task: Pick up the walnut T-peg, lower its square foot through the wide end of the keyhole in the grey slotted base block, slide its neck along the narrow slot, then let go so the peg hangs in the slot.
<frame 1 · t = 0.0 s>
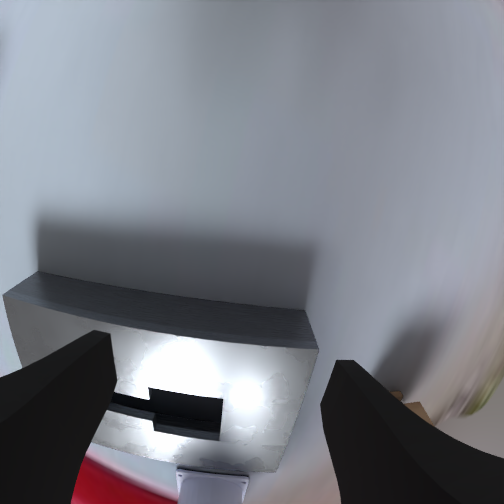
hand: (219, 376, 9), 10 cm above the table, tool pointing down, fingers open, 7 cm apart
peg: (376, 406, 23), on the table
grey slotted base block: (156, 368, 21), on the table
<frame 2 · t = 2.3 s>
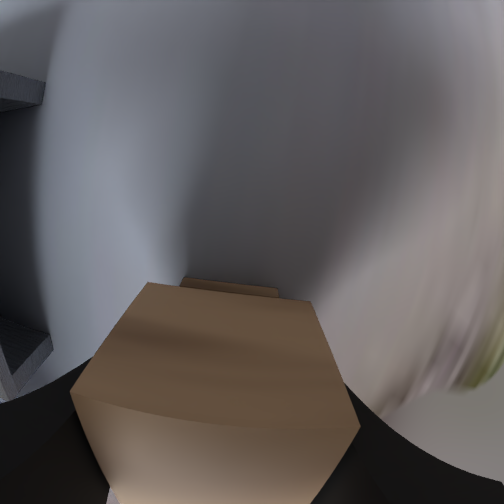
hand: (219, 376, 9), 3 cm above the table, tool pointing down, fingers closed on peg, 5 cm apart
peg: (226, 323, 12), on the table, touching gripper
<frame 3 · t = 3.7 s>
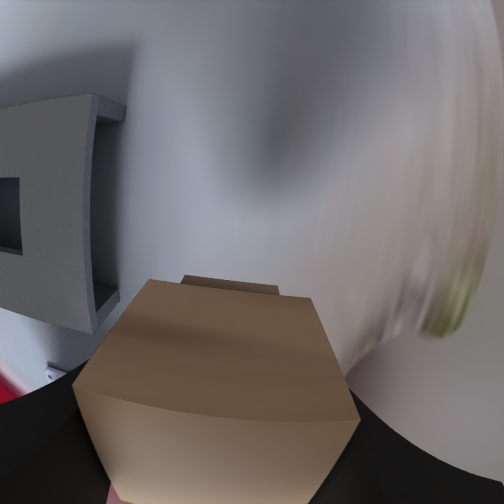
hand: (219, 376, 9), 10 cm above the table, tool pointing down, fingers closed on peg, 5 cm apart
peg: (226, 320, 12), point 7 cm above the table, touching gripper
grey slotted base block: (12, 201, 17), on the table
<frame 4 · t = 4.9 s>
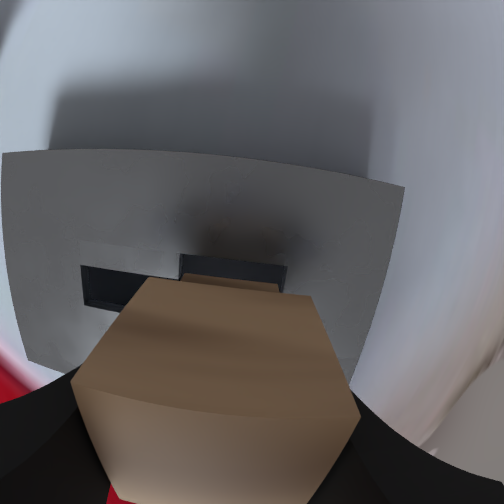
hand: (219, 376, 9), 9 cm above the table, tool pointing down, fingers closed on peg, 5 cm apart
peg: (226, 319, 12), point 6 cm above the table, touching gripper
grey slotted base block: (182, 266, 17), on the table
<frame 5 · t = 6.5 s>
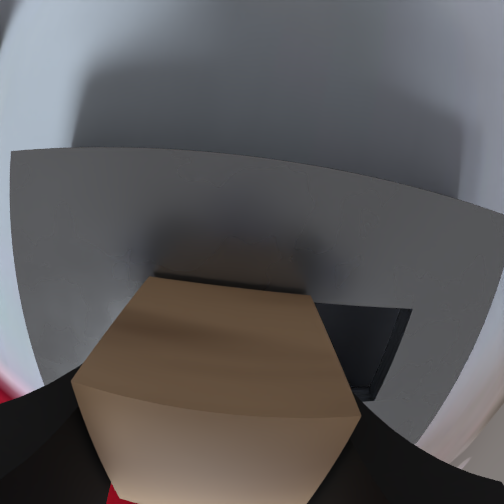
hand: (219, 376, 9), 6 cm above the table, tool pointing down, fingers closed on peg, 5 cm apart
peg: (226, 319, 12), point 2 cm above the table, touching gripper
grey slotted base block: (257, 300, 14), on the table
when the fingers open (6 cm above the table, at t = 7.8 s): peg stays where it is, resting on grey slotted base block.
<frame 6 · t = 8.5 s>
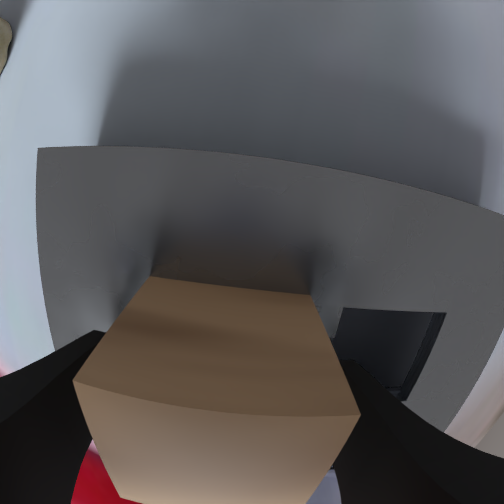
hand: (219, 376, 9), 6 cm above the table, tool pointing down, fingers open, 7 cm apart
peg: (226, 318, 12), point 2 cm above the table, touching grey slotted base block
grey slotted base block: (291, 305, 14), on the table
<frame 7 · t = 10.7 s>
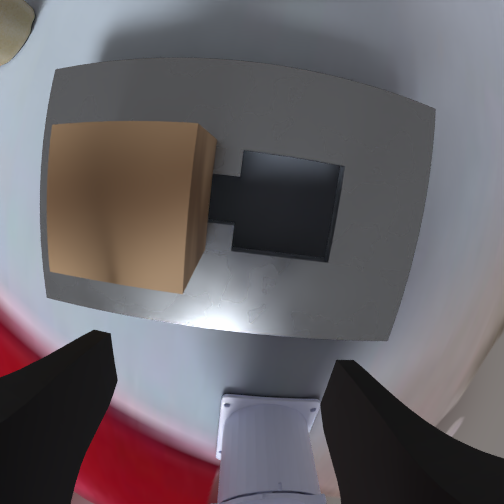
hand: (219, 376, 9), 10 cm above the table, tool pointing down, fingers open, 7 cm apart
peg: (169, 186, 15), point 2 cm above the table, touching grey slotted base block
grey slotted base block: (228, 191, 17), on the table
flower pot: (12, 36, 13), on the table
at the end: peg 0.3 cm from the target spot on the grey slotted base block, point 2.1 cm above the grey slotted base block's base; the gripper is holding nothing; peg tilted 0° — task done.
